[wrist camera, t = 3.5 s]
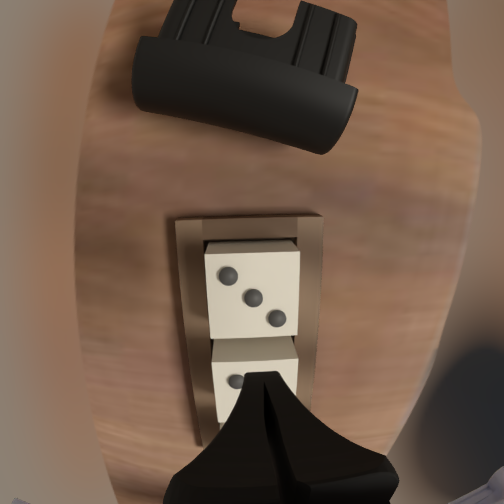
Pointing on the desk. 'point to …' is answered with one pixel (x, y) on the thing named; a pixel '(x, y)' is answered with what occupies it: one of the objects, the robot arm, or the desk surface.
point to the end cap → (250, 73)
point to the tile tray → (196, 304)
